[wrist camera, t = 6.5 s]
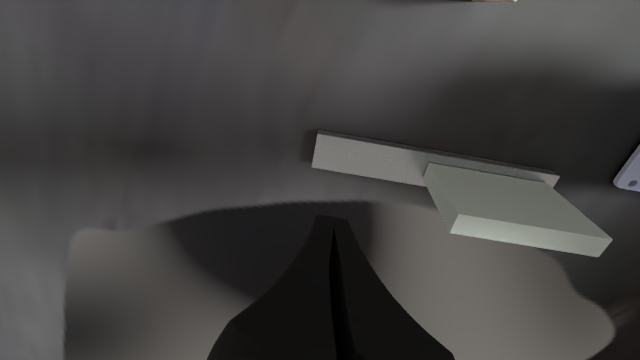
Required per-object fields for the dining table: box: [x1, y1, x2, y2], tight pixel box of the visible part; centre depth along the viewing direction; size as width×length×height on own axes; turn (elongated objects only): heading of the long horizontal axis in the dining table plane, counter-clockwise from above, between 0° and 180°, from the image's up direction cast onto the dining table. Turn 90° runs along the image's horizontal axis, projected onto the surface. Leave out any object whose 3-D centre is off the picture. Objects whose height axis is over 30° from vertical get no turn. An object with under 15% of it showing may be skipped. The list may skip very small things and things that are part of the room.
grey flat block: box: [423, 163, 613, 257], centre depth 18 cm, size 8×1×6 cm, turn 80°
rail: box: [312, 129, 560, 188], centre depth 21 cm, size 16×2×1 cm, turn 80°
